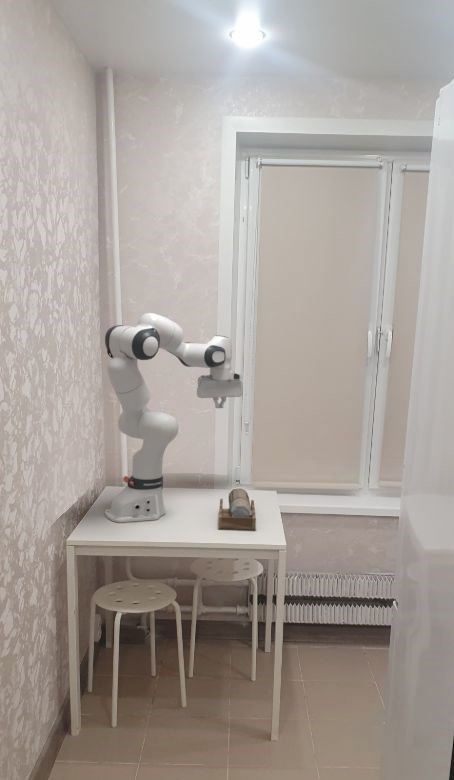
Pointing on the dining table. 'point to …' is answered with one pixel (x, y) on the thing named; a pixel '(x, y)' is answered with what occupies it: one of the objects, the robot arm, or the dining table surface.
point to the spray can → (239, 503)
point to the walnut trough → (236, 520)
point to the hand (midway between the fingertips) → (219, 408)
